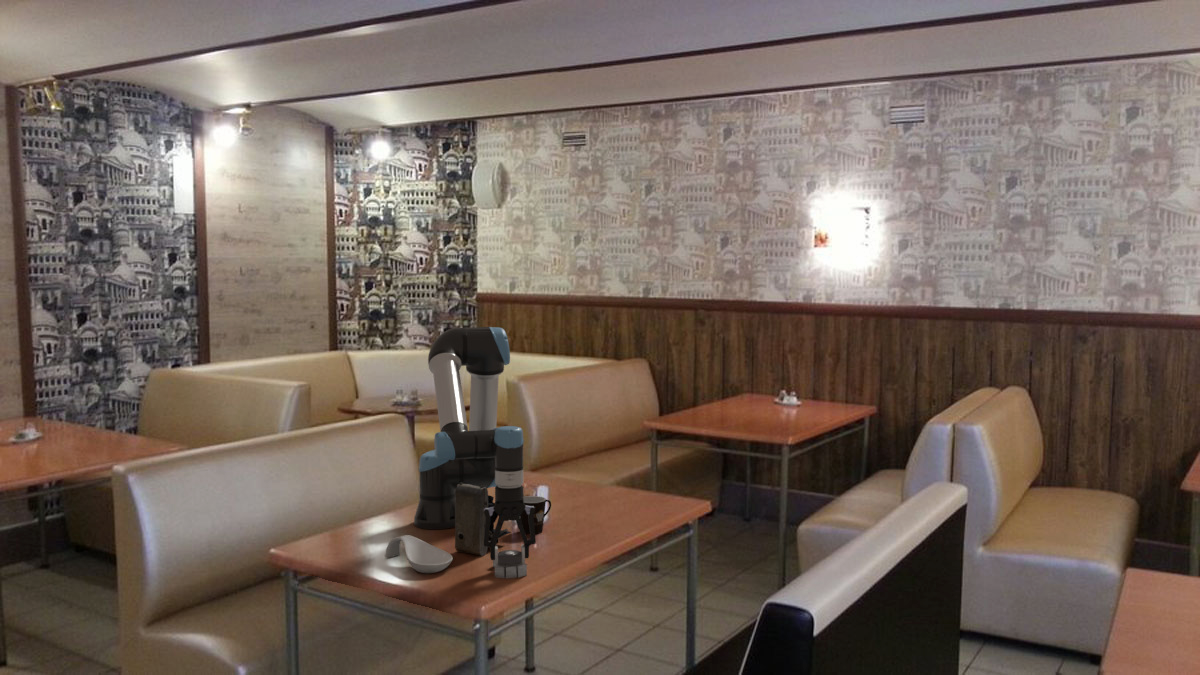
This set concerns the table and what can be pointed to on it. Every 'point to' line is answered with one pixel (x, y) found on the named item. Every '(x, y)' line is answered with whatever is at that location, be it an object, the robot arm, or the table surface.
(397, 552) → the spoon rest
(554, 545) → the table surface
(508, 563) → the cap
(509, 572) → the grey segmented ring
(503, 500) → the robot arm
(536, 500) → the coffee mug
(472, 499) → the vintage camera
